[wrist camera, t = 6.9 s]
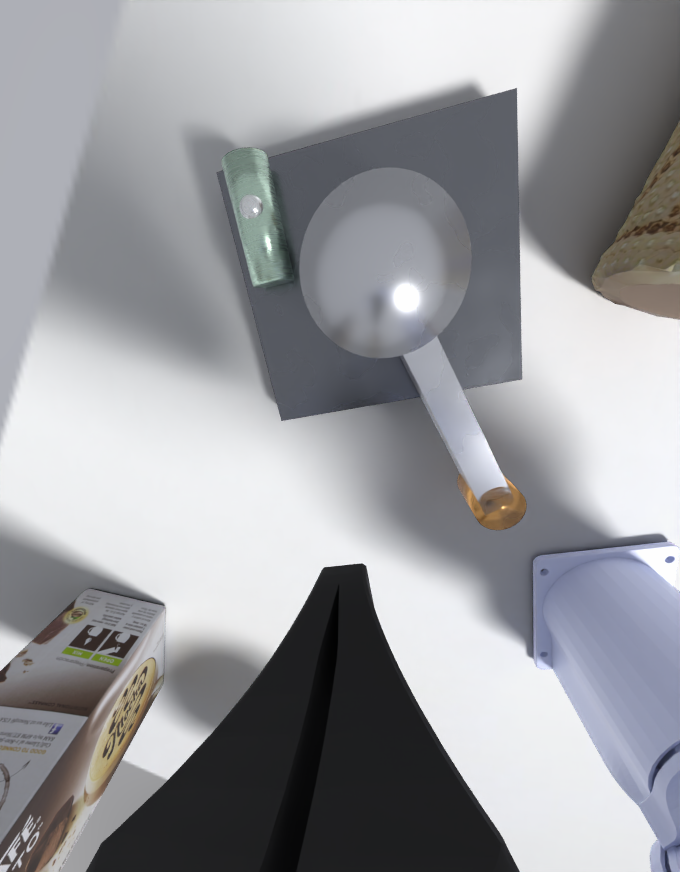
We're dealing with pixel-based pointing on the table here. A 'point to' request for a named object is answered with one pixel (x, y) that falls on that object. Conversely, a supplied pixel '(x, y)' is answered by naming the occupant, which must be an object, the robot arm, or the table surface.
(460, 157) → the plate
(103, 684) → the coffee box
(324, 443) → the table surface
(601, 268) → the decorative bottle
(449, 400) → the silver pan
